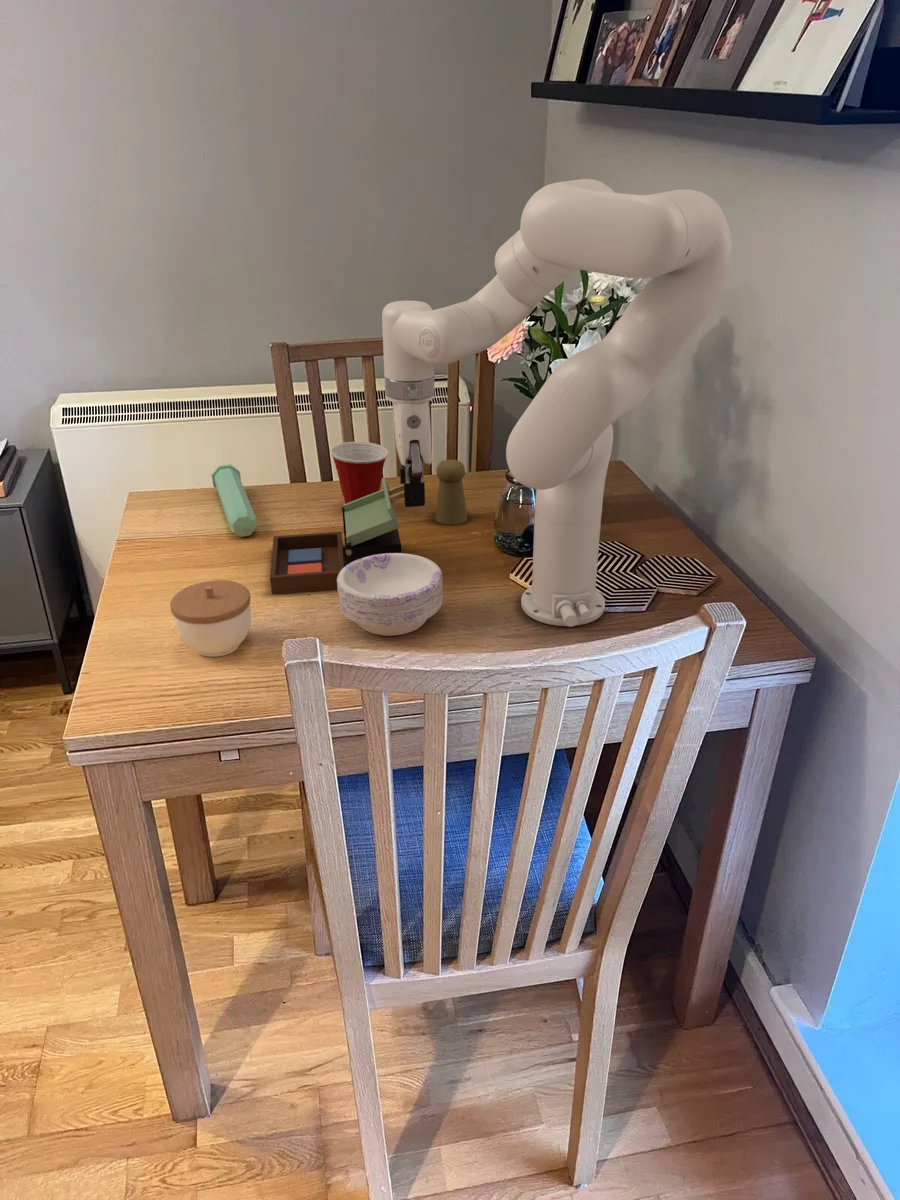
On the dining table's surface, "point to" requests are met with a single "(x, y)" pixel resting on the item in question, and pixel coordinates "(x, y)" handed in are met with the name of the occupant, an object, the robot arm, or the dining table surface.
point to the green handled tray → (372, 514)
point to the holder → (313, 580)
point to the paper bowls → (390, 592)
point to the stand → (372, 545)
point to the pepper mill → (450, 493)
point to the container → (234, 500)
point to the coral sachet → (304, 568)
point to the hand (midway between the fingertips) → (412, 497)
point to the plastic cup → (359, 468)
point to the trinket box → (212, 616)
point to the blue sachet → (305, 556)
